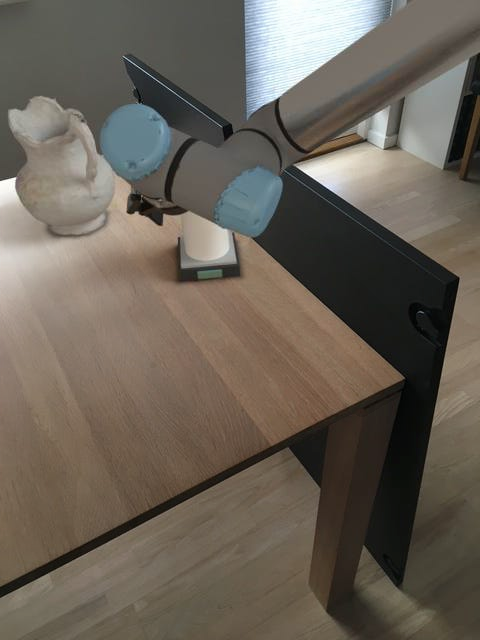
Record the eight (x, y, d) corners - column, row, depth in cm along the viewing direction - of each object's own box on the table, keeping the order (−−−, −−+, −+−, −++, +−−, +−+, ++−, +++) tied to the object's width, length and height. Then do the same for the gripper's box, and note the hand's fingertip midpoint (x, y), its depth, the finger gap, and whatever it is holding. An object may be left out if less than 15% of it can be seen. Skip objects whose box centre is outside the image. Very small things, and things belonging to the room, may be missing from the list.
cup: (234, 256, 98) (229, 174, 87) (190, 264, 96) (179, 183, 86) (223, 232, 104) (217, 153, 93) (181, 240, 102) (170, 161, 91)
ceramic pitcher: (148, 216, 117) (133, 97, 102) (92, 259, 103) (64, 128, 88) (70, 198, 125) (45, 84, 109) (8, 235, 111) (-31, 111, 96)
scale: (234, 242, 106) (234, 229, 104) (240, 277, 98) (239, 264, 96) (179, 247, 106) (177, 234, 104) (180, 283, 97) (178, 269, 95)
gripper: (74, 206, 72) (127, 238, 93) (261, 212, 68) (271, 244, 89) (79, 150, 72) (130, 195, 93) (264, 154, 69) (274, 200, 90)
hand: (200, 219), depth 91 cm, fingers open, 13 cm apart
